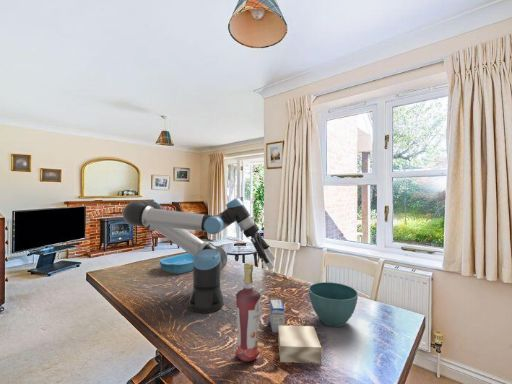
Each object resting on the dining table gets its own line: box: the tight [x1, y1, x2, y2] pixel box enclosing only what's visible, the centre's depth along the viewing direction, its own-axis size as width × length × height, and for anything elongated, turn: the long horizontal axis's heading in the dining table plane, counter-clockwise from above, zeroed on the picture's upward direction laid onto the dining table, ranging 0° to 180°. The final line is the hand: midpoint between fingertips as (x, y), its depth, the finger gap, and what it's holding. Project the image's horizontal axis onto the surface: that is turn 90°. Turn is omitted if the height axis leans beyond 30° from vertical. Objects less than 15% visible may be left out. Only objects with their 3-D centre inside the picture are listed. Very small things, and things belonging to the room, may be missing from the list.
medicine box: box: [269, 299, 286, 333], centre depth 95 cm, size 8×4×9 cm, turn 5°
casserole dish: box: [159, 252, 194, 275], centre depth 171 cm, size 37×22×7 cm, turn 149°
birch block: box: [277, 325, 322, 364], centre depth 81 cm, size 12×12×5 cm
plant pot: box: [308, 281, 359, 328], centre depth 100 cm, size 18×18×12 cm
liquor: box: [235, 262, 261, 363], centre depth 77 cm, size 7×7×28 cm
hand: (272, 264), depth 124 cm, fingers open, 13 cm apart
